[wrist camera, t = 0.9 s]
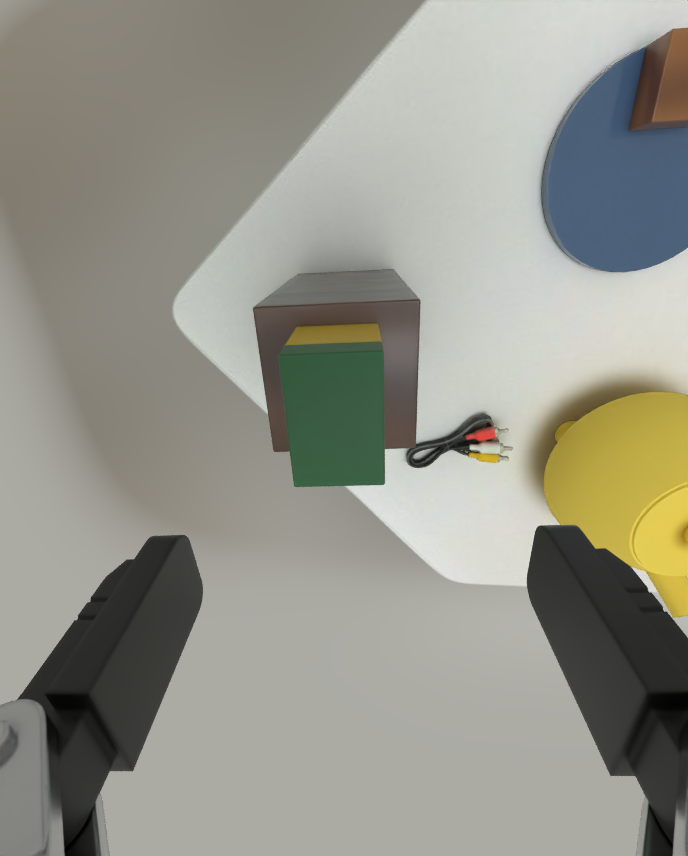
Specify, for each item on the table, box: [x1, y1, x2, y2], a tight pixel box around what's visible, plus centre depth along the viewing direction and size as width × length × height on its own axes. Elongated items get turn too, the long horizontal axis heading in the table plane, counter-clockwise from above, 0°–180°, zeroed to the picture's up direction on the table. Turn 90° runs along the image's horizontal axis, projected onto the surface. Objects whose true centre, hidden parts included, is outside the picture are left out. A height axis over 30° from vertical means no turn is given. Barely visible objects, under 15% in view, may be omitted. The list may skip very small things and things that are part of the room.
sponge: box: [278, 323, 385, 487], centre depth 19 cm, size 6×4×5 cm, turn 3°
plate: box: [542, 47, 688, 272], centre depth 29 cm, size 14×14×1 cm
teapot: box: [544, 392, 688, 618], centre depth 35 cm, size 20×16×14 cm
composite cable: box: [407, 415, 513, 468], centre depth 39 cm, size 10×5×2 cm, turn 102°
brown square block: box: [629, 28, 688, 131], centre depth 26 cm, size 4×4×2 cm
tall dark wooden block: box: [253, 269, 420, 452], centre depth 28 cm, size 8×8×16 cm
